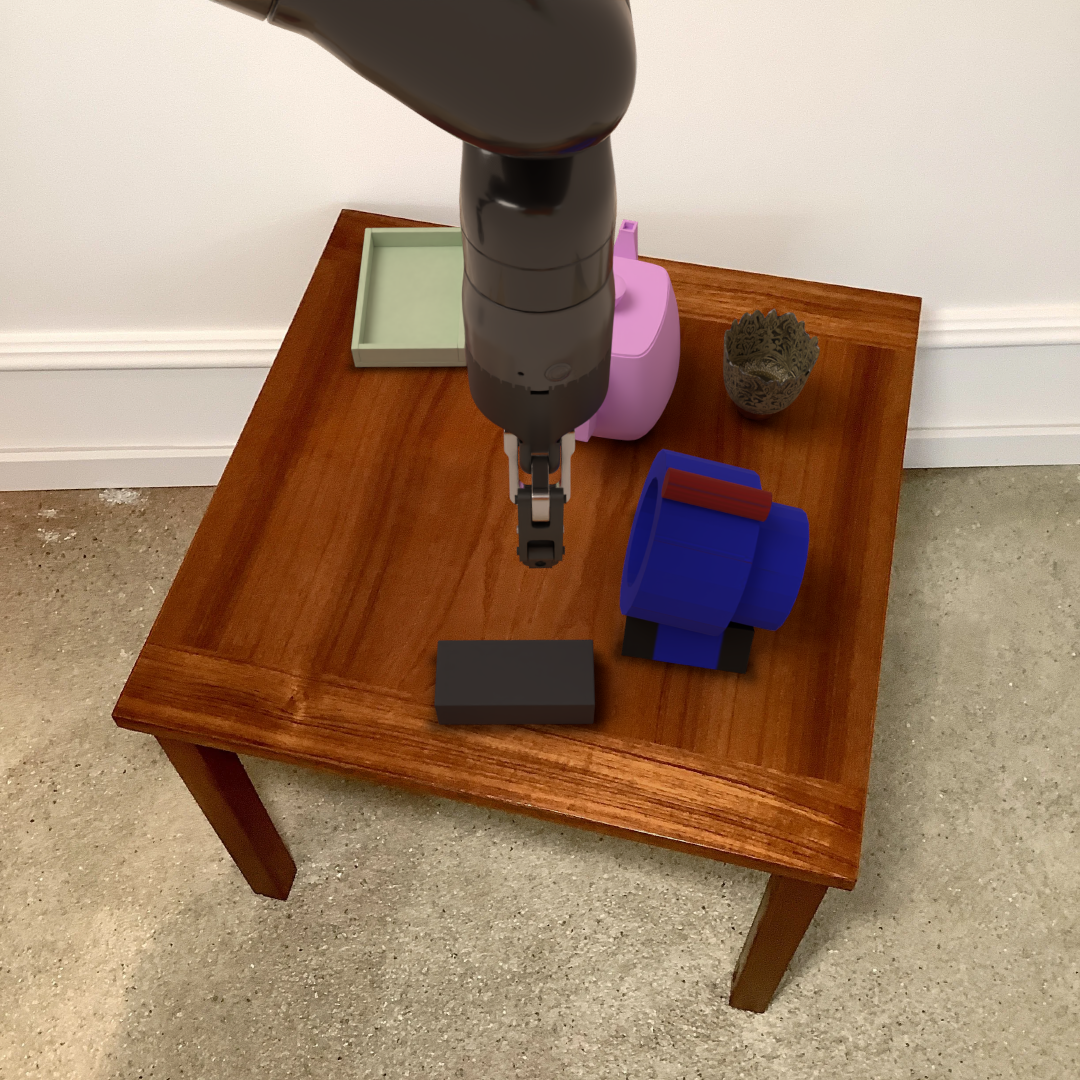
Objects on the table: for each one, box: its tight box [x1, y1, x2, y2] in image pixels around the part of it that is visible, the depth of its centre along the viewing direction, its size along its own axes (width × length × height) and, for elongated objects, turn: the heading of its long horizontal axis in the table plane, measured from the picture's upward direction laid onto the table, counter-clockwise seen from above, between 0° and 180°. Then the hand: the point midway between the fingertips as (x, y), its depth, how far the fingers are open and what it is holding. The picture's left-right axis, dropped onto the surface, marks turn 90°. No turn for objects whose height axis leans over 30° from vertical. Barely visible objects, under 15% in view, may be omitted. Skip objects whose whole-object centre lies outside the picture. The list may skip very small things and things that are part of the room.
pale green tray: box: [350, 226, 467, 368], centre depth 98 cm, size 10×15×2 cm, turn 0°
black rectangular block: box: [433, 639, 596, 725], centre depth 77 cm, size 11×5×4 cm, turn 90°
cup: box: [722, 308, 821, 421], centre depth 89 cm, size 8×7×8 cm
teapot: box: [575, 218, 681, 443], centre depth 88 cm, size 20×12×13 cm, turn 166°
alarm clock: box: [619, 448, 810, 675], centre depth 76 cm, size 12×12×15 cm
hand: (539, 503), depth 69 cm, fingers open, 8 cm apart
